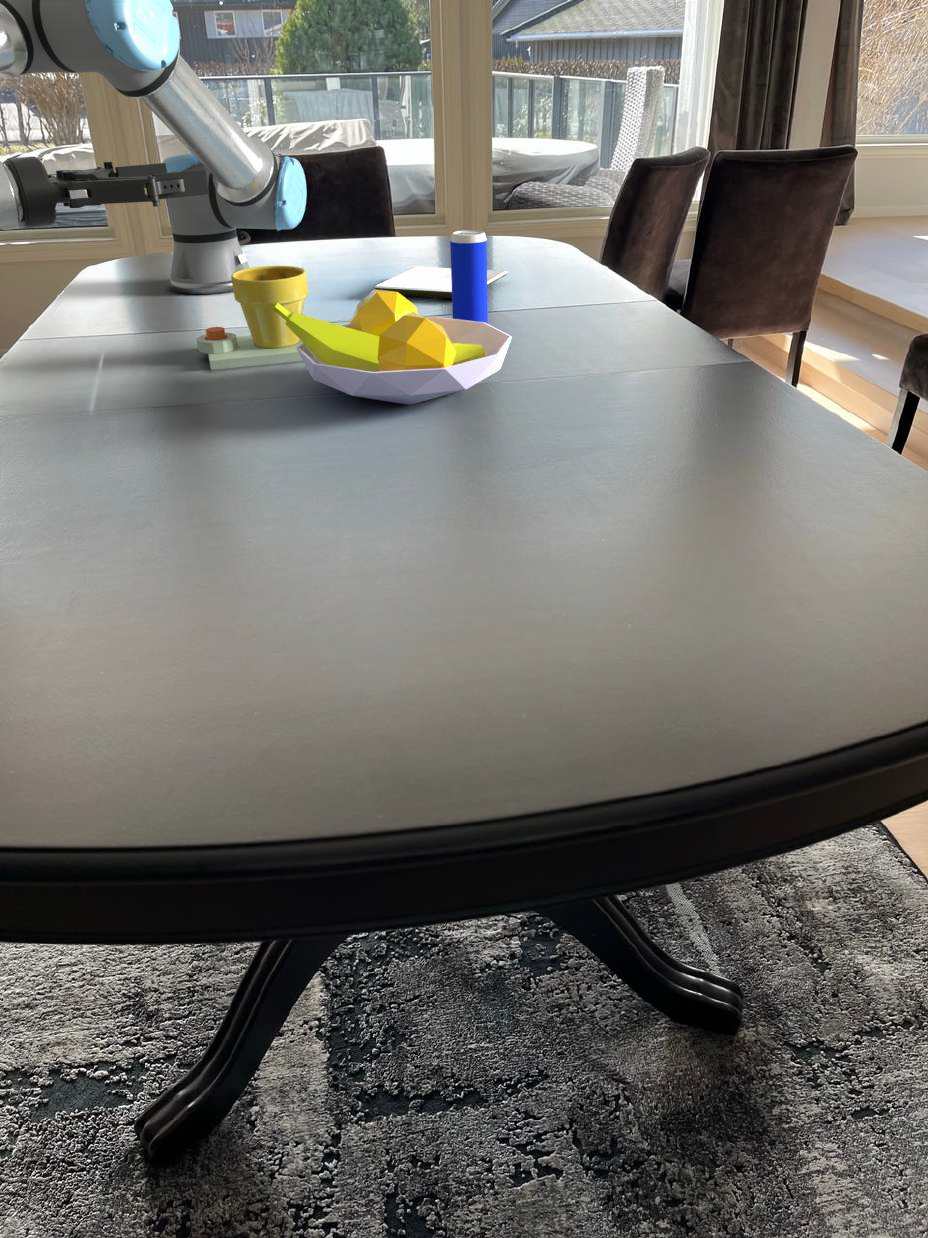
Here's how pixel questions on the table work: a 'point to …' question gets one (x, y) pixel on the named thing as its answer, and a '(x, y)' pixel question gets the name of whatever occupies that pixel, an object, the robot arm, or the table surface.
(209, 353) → the pale green flat block
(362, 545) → the table surface
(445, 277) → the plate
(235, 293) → the flower pot
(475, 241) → the beverage can
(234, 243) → the robot arm
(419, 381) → the fruit bowl
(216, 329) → the button
